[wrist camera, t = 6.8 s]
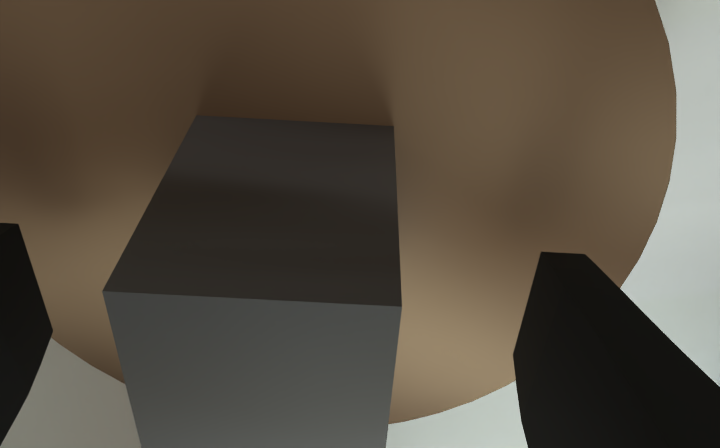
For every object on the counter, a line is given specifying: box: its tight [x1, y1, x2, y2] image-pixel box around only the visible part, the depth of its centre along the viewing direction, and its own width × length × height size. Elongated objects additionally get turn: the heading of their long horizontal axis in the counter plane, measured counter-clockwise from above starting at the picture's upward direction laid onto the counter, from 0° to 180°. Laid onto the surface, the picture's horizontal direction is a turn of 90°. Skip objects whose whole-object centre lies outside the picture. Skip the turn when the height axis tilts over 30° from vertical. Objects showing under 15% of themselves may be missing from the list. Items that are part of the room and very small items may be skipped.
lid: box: [0, 0, 676, 448], centre depth 9 cm, size 12×12×5 cm
